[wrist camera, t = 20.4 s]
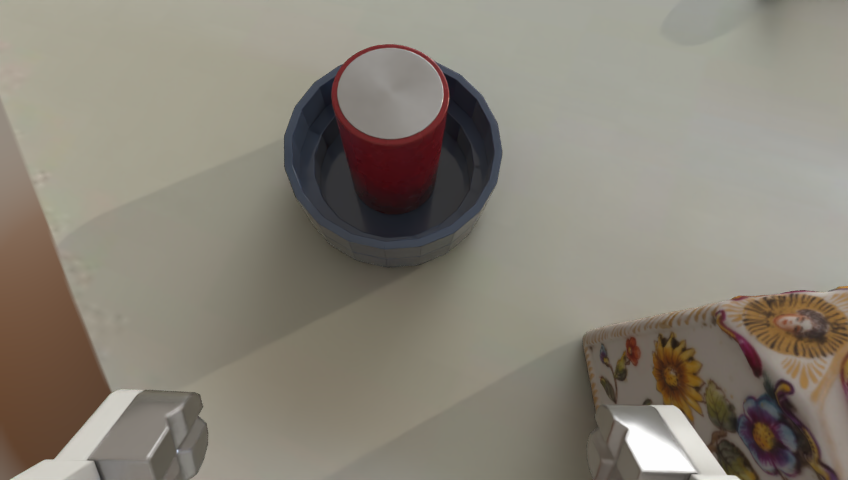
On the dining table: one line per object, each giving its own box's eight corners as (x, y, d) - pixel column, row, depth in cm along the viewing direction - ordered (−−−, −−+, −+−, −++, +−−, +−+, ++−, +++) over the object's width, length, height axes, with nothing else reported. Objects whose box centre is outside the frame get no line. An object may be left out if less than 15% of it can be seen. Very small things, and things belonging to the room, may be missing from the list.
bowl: (474, 95, 34) (485, 49, 29) (498, 260, 30) (516, 238, 25) (300, 105, 33) (283, 59, 28) (304, 276, 29) (284, 257, 24)
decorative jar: (745, 316, 29) (1226, 236, 12) (803, 513, 26) (1573, 782, 9) (572, 330, 29) (827, 266, 11) (608, 536, 25) (1045, 880, 8)
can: (431, 136, 32) (443, 40, 23) (440, 211, 30) (456, 140, 21) (350, 141, 31) (328, 45, 22) (354, 217, 30) (332, 148, 20)
